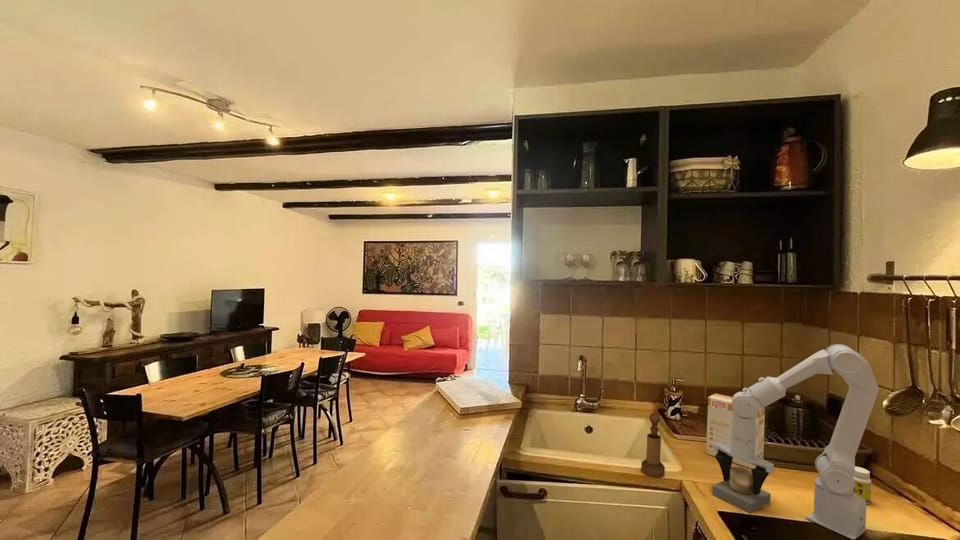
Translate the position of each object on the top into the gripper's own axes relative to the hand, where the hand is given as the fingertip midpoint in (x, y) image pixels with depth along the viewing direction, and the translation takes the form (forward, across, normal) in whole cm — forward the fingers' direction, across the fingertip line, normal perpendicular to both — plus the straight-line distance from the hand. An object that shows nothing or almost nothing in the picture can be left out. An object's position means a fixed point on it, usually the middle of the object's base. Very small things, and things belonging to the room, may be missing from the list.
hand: (741, 486), depth 114 cm
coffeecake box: (+3, +14, -23) cm, 27 cm away
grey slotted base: (+3, 0, 0) cm, 3 cm away
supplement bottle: (+3, -16, -29) cm, 33 cm away
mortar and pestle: (+3, +21, +9) cm, 23 cm away
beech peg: (+3, 0, 0) cm, 3 cm away
